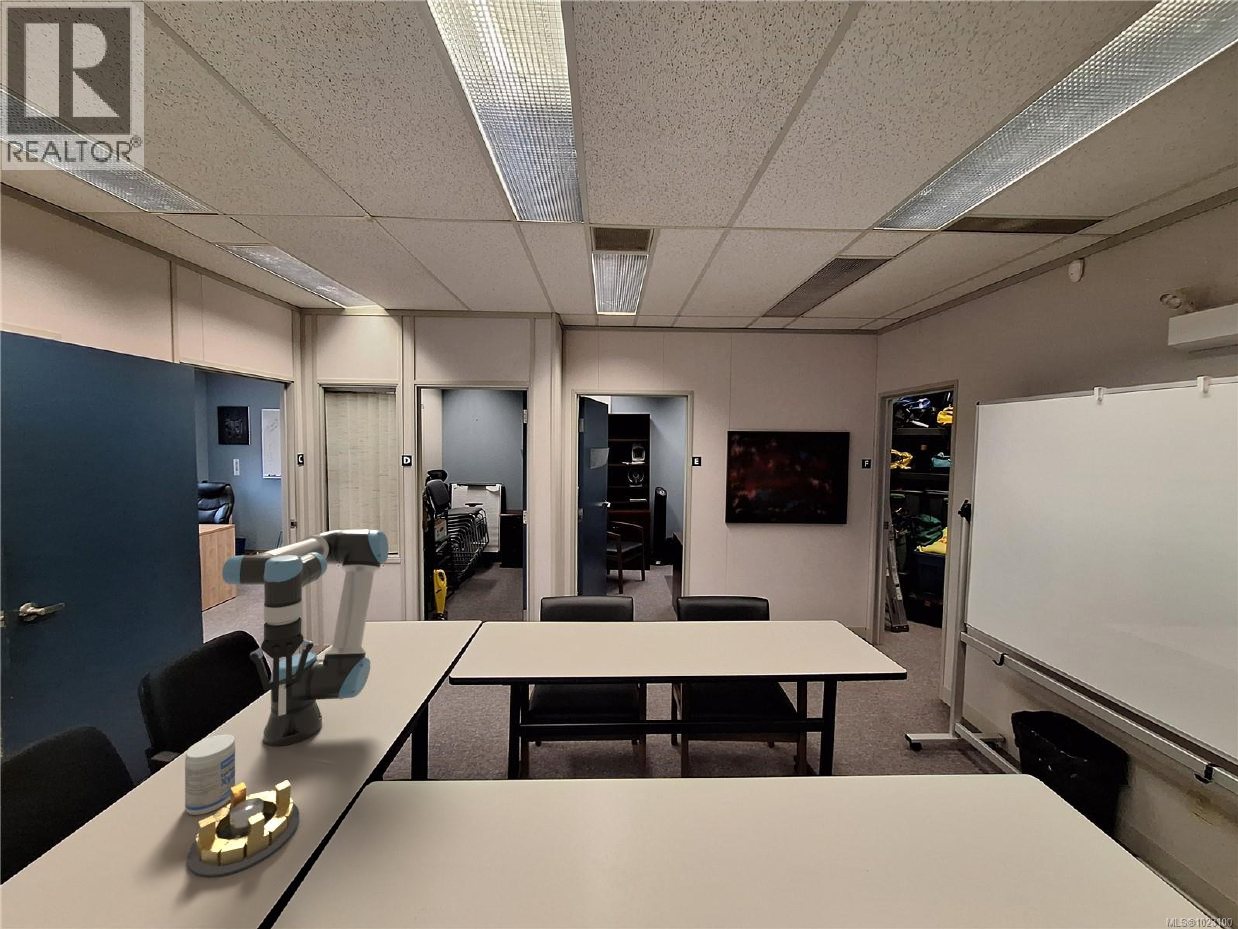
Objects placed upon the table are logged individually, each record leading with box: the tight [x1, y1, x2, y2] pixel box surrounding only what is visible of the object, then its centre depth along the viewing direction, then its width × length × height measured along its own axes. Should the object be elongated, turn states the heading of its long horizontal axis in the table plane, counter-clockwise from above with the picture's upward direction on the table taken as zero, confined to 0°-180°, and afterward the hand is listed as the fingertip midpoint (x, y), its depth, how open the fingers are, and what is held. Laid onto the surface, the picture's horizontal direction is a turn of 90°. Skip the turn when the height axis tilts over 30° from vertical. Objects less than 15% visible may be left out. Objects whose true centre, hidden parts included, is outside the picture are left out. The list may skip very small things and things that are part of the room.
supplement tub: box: [184, 734, 236, 816], centre depth 115 cm, size 10×10×15 cm
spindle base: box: [187, 798, 300, 878], centre depth 106 cm, size 20×20×7 cm
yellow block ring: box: [195, 780, 294, 866], centre depth 106 cm, size 17×17×7 cm
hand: (282, 712), depth 114 cm, fingers closed
